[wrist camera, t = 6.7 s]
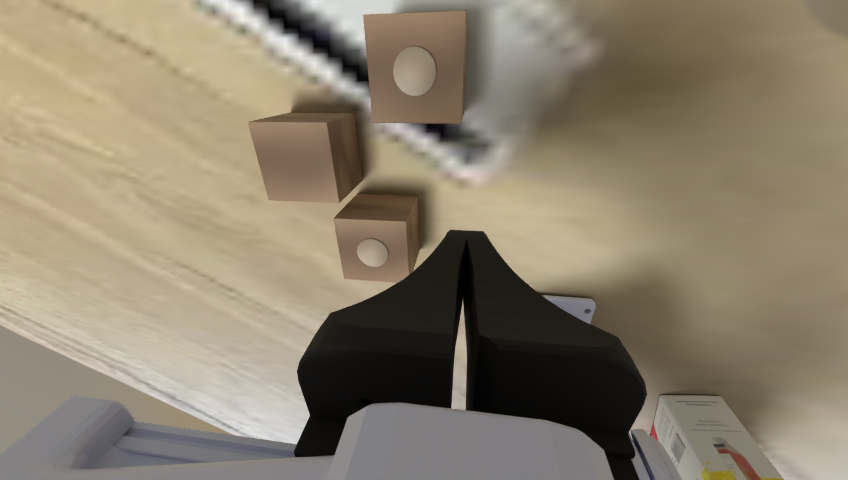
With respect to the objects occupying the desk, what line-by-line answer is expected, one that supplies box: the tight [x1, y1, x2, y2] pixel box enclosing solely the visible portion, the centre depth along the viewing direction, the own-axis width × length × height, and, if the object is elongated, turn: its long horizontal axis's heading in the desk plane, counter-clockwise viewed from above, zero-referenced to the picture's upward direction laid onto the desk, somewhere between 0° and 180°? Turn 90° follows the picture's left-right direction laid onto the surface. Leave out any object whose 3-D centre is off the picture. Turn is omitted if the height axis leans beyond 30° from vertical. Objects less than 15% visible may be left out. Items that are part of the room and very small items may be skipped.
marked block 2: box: [334, 193, 420, 283], centre depth 21 cm, size 4×5×5 cm
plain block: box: [248, 113, 363, 203], centre depth 19 cm, size 4×4×4 cm
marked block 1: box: [363, 11, 468, 123], centre depth 16 cm, size 4×5×5 cm
